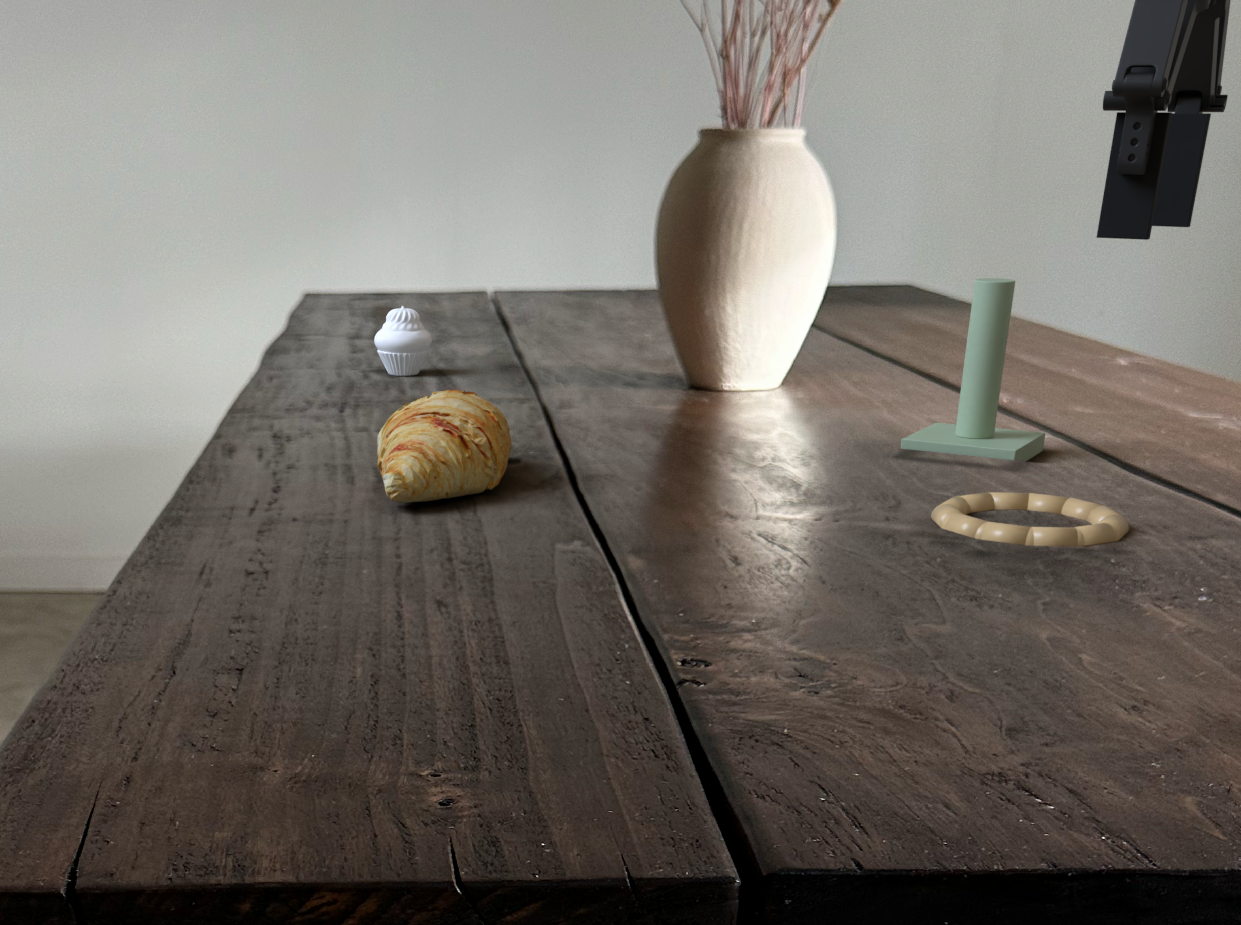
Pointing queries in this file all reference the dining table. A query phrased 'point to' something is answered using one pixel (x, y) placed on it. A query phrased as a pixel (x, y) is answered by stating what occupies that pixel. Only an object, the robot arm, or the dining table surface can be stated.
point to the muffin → (403, 342)
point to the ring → (956, 520)
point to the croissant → (443, 447)
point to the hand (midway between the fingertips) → (1145, 232)
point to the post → (982, 387)
